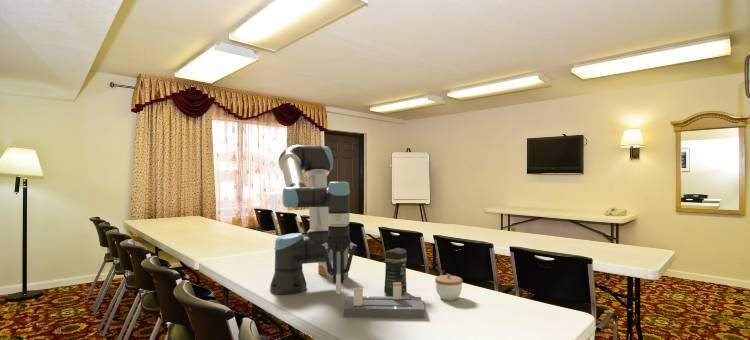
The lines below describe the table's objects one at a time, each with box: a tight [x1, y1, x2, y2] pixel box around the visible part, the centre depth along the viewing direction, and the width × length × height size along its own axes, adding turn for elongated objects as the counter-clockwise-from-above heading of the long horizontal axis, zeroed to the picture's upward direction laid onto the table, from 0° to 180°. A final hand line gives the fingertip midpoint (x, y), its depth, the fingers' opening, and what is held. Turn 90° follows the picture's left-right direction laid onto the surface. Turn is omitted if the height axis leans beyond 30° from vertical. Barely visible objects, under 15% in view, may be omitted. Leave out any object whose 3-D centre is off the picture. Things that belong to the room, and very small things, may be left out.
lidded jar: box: [434, 273, 463, 302], centre depth 146 cm, size 11×11×9 cm
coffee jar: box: [383, 247, 408, 297], centre depth 152 cm, size 10×8×19 cm
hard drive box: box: [317, 246, 349, 280], centre depth 180 cm, size 16×8×20 cm, turn 43°
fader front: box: [353, 287, 364, 306], centre depth 129 cm, size 3×2×6 cm
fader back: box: [392, 282, 402, 299], centre depth 135 cm, size 3×2×6 cm
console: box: [342, 295, 426, 319], centre depth 132 cm, size 28×14×3 cm, turn 89°
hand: (338, 292), depth 128 cm, fingers closed
